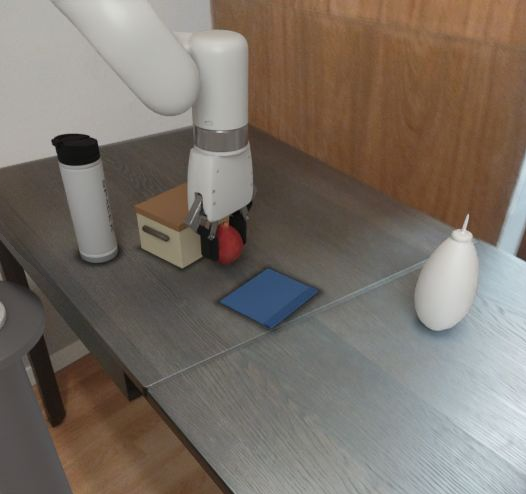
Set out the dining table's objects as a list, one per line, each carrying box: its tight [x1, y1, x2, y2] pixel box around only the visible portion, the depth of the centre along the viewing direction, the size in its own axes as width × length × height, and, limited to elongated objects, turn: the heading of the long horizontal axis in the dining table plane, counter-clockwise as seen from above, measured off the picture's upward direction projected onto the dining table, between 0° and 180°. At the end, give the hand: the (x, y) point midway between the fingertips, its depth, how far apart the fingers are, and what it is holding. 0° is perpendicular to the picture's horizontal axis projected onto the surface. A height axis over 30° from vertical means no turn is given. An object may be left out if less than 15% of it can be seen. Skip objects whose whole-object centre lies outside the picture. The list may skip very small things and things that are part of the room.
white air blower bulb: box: [413, 213, 480, 332], centre depth 73 cm, size 8×8×18 cm
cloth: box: [219, 267, 319, 330], centre depth 83 cm, size 12×10×1 cm
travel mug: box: [50, 133, 119, 264], centre depth 85 cm, size 6×7×20 cm
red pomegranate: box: [215, 219, 244, 266], centre depth 84 cm, size 6×6×8 cm
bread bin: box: [134, 181, 230, 269], centre depth 91 cm, size 13×10×8 cm
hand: (224, 248), depth 85 cm, fingers closed on red pomegranate, 5 cm apart
